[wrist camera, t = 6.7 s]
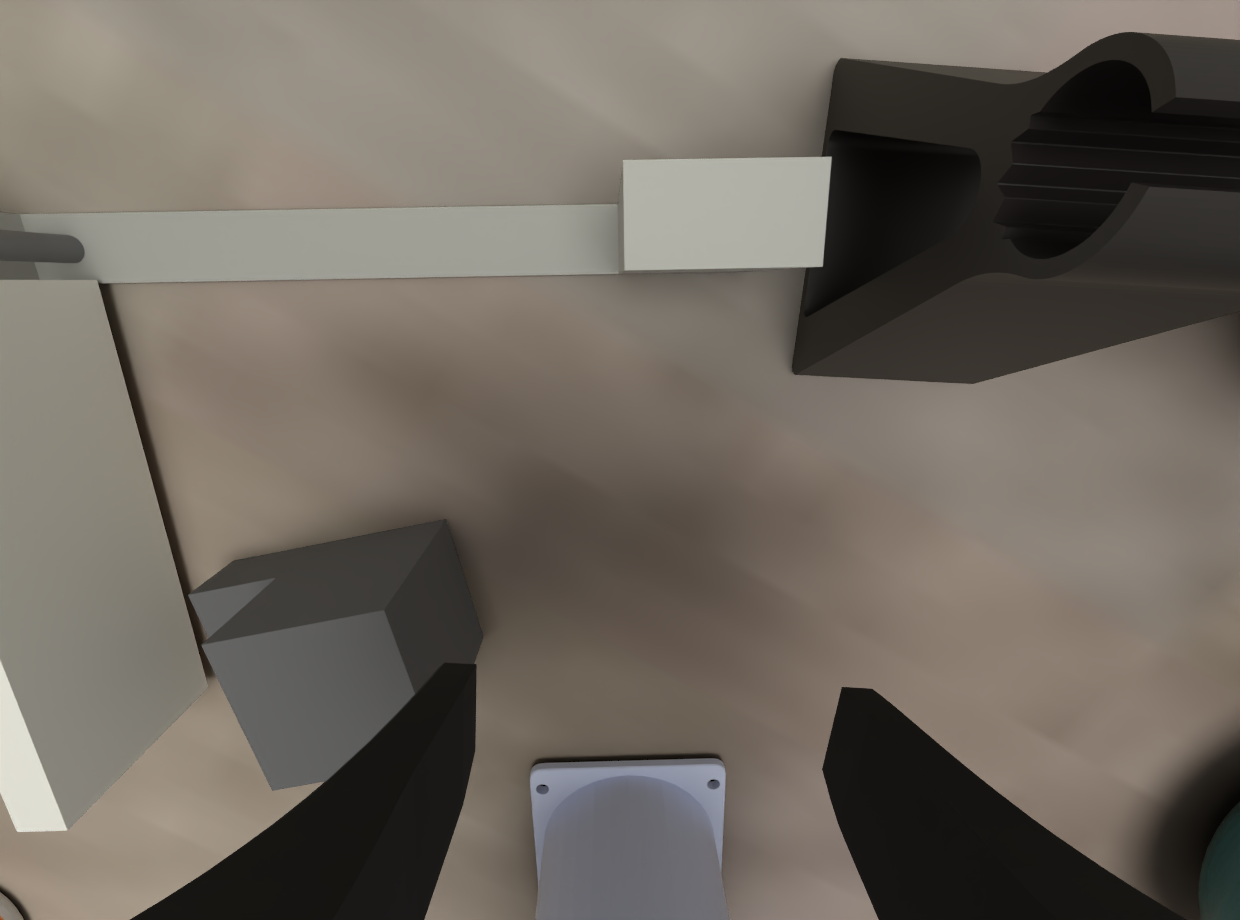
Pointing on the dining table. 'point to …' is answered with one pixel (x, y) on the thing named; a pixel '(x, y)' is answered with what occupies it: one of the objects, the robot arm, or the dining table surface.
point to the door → (78, 564)
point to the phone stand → (1024, 210)
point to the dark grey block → (334, 641)
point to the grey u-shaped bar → (456, 233)
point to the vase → (1222, 872)
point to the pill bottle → (8, 909)
